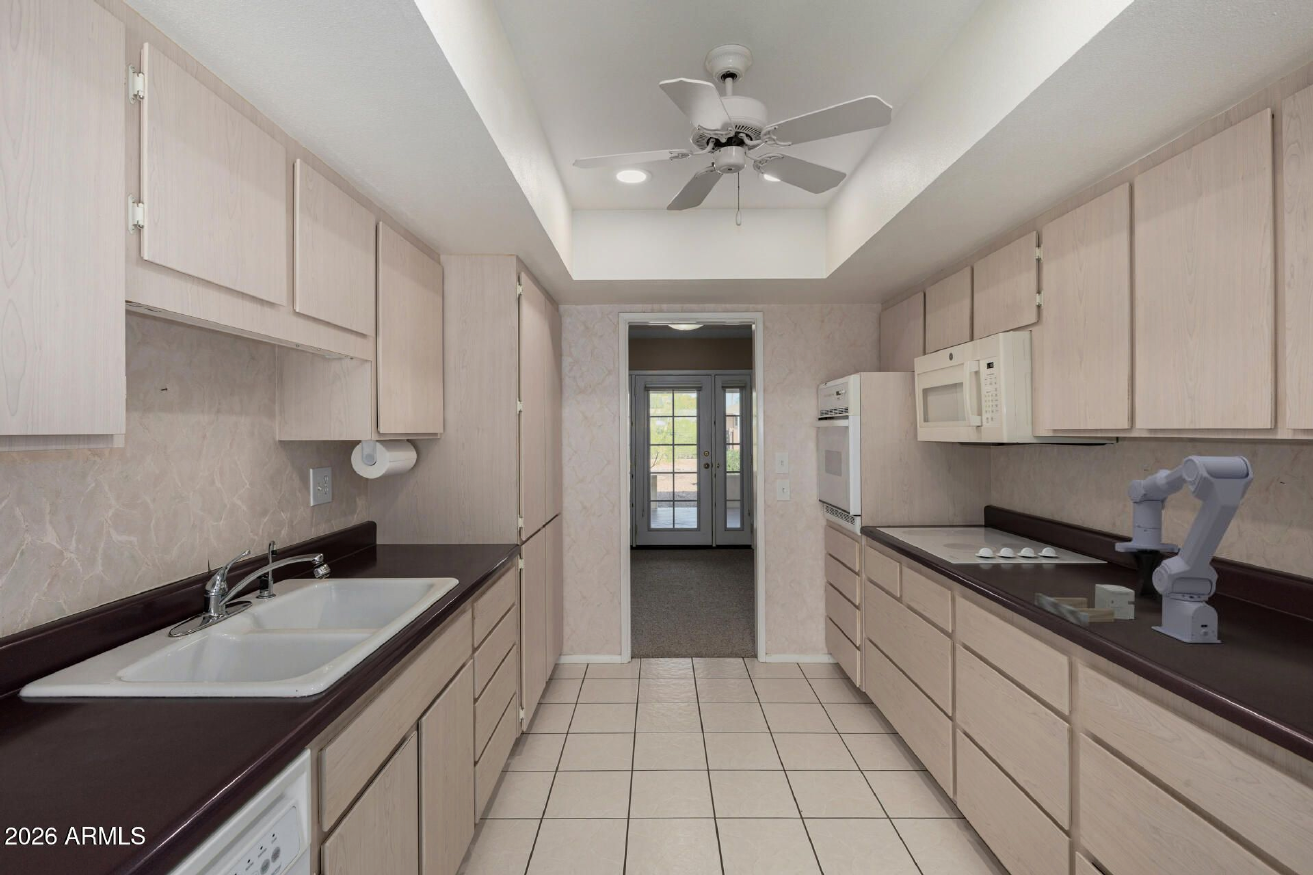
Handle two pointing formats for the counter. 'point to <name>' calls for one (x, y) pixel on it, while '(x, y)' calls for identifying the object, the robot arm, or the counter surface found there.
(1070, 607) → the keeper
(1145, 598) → the door stopper
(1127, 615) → the skincare box
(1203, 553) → the robot arm
